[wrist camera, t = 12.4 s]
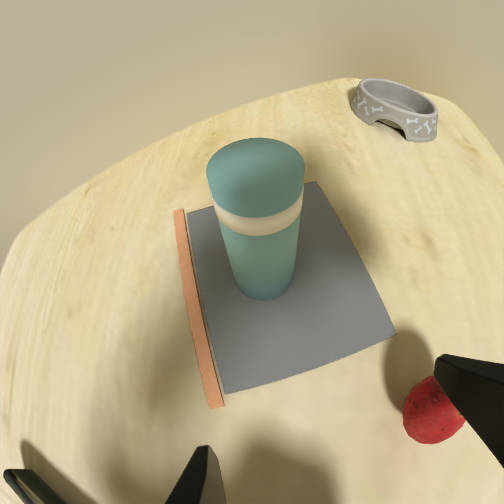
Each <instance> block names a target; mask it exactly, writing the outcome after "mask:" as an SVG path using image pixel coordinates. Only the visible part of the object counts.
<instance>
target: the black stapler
mask: <svg viewBox="0 0 504 504" xmlns="http://www.w3.org/2000/svg"><path fill="white" fill-rule="evenodd" d="M3 477H4V479H5V481H6V482H7V483H8V485H9V486H10V487H11V488H12V489H13V490H14V492H15V493H16V494H17V495H18V496H19V498H20V499H21V500H22V502H23V503H24V504H66V503H65V502H64V501H63V500H62V499H61V498H59V497H58V496H57V495H56V494H55V493H54V492H53V491H52V490H51V489H50V488H49V487H48V486H47V485H46V484H45V483H44V482H43V481H42V480H41V479H40V478H39V477H38V476H37V475H36V474H35V473H34V472H33V471H31V470H28V469H6V470H5V471H4V475H3Z"/></svg>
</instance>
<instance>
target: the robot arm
mask: <svg viewBox="0 0 504 504" xmlns="http://www.w3.org/2000/svg"><path fill="white" fill-rule="evenodd" d="M434 377H435V379H436V381H437V382H438V384H439V385H440V387H441V388H442V389H443V391H444V392H445V394H446V395H447V397H448V398H449V400H450V401H451V403H452V404H453V405H454V406H455V408H456V409H457V410H458V411H459V412H460V414H461V415H462V416H463V417H464V418H465V419H466V421H467V422H468V423H469V424H470V426H471V427H472V428H473V429H474V430H475V432H476V433H477V434H478V435H479V437H480V438H481V439H482V440H483V442H484V443H485V444H486V446H487V447H488V448H489V449H490V451H491V452H492V453H493V455H494V456H495V457H496V458H497V460H498V461H499V463H500V464H501V465H502V467H503V468H504V364H500V363H494V362H488V361H482V360H476V359H470V358H465V357H459V356H454V355H449V354H443V355H441V356H439V357H438V358H437V359H436V361H435V367H434ZM165 504H226V498H225V491H224V486H223V481H222V477H221V472H220V467H219V462H218V458H217V456H216V455H215V453H214V452H213V450H212V449H211V447H210V446H209V445H203V446H198V447H197V448H196V450H195V452H194V453H193V455H192V457H191V459H190V461H189V462H188V464H187V466H186V468H185V469H184V471H183V473H182V475H181V477H180V478H179V480H178V482H177V483H176V485H175V487H174V489H173V490H172V492H171V494H170V495H169V497H168V499H167V501H166V502H165Z"/></svg>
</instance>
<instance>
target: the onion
mask: <svg viewBox="0 0 504 504" xmlns="http://www.w3.org/2000/svg"><path fill="white" fill-rule="evenodd" d="M465 420H466V419H465V418H464V417H463V416H462V415H461V414H460V412H459V411H458V410H457V409H456V408H455V406H454V405H453V404H452V403H451V401H450V400H449V398H448V397H447V395H446V394H445V392H444V391H443V389H442V388H441V387H440V385H439V384H438V382H437V381H436V379H435V377H434V376H429V377H427V378H425V379H424V380H422V381H421V382H420V383H418V384H417V385H416V386H414V387H413V389H412V390H411V392H410V393H409V395H408V397H407V398H406V400H405V404H404V409H403V426H404V428H405V430H406V432H407V434H408V435H409V436H410V437H411V438H413V439H414V440H416V441H417V442H419V443H423V444H436V443H439V442H441V441H444V440H446V439H448V438H450V437H451V436H453V435H454V434H455V433H456V432H457V431H458V430H459V429H460V428H461V427H462V426H463V424H464V422H465Z"/></svg>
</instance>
